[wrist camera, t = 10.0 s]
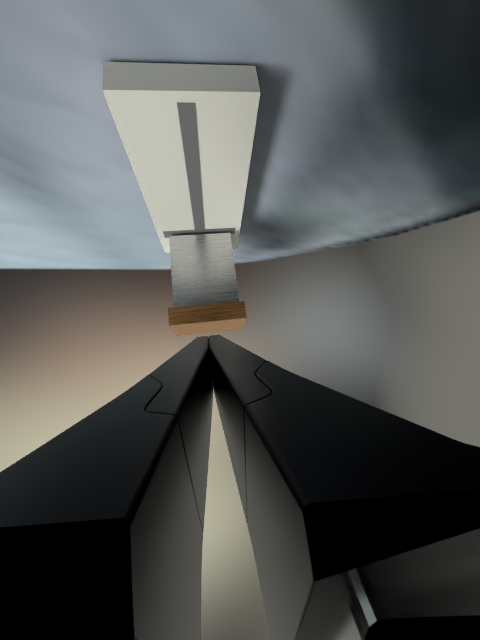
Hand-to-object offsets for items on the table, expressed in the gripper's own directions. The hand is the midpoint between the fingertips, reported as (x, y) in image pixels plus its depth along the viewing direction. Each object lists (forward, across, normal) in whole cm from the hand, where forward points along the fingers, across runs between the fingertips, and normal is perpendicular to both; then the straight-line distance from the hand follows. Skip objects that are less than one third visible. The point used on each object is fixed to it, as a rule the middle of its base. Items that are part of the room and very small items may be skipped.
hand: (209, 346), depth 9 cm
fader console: (+10, 0, +6) cm, 12 cm away
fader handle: (+12, 0, +1) cm, 12 cm away
